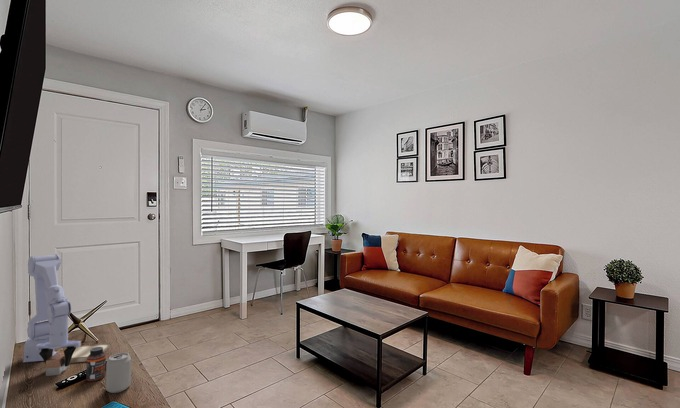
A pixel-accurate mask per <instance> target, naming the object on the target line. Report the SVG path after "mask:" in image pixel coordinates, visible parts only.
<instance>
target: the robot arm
mask: <svg viewBox="0 0 680 408" xmlns="http://www.w3.org/2000/svg"><path fill="white" fill-rule="evenodd" d="M61 261H62V259H61V256H60V255H59V254H58V253H56V254H49V255H46V254H45V255H37V256H30V257H29V258H28V261H27V271H28V272H27V273H28V276H29V277H33V279H34V288H35V289H34V293H35V309H36V310H35V312H36V314H35V315H34V316H33V317H31V318H30V319H29V320H28V322H27V329H26V331H27V332H26V333H27V337H28V338H27V339H26V340H25V343H24V345H23V360H22V363H33V362H43V361H44V364H45V365H46V360H48V359H49V358H50V357H51V356H53V355H54V354H55V353H57V352H60V351H55V350H56V349H63V351H64V355H65V367H66V366H68V365H69V364H70V365H71V363H70V361H71V358H72V355H73V353H74V351H75V349H76V348H77V347H80V346H82V341H81V340H70V339H69V316H70V315H71V312H72V306H71V301H70V300H69V299H68V298H67V297H66V295H65V294H66V293H65V291H64V287H63V286H61V285H59V280H58V279H59V278H58V271H59V269H60V266H61V263H62V262H61ZM68 367H69V366H68Z"/></svg>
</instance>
